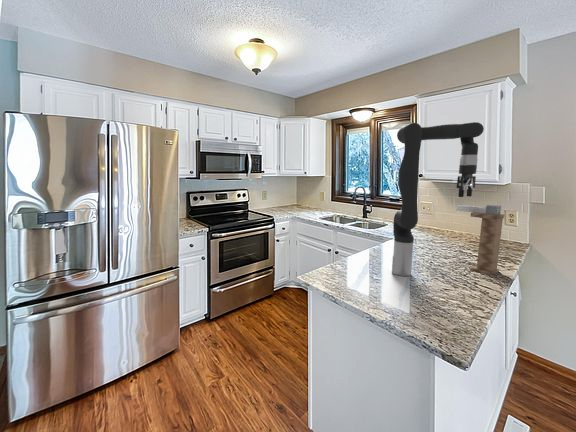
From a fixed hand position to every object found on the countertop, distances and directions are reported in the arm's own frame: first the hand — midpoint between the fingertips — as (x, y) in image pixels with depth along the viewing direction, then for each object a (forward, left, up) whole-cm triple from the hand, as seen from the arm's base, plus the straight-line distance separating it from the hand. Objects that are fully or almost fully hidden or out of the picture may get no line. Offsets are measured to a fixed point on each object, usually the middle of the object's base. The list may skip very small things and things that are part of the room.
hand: (464, 196), depth 150 cm
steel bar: (+8, +13, -9) cm, 18 cm away
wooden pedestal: (+12, +11, -40) cm, 43 cm away
